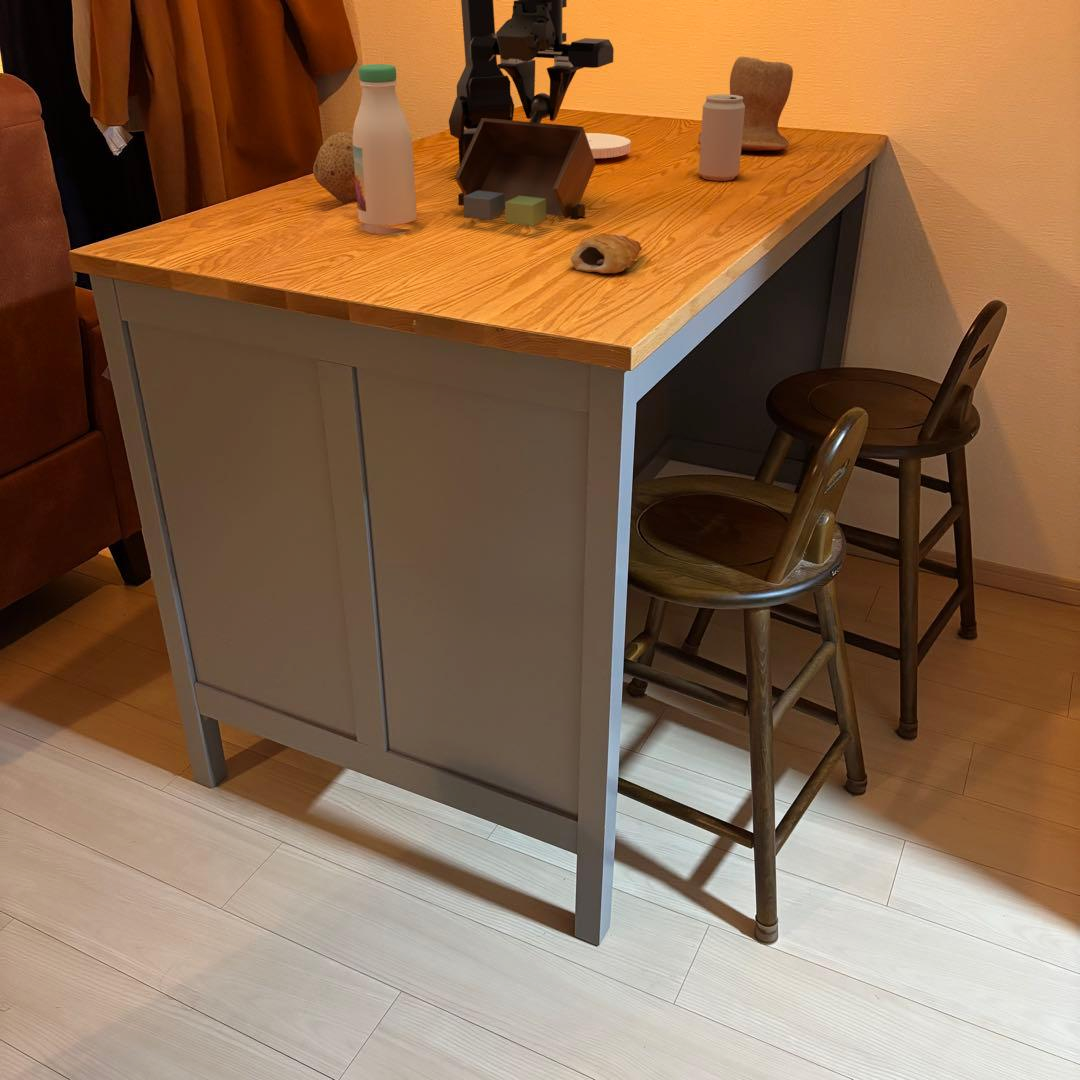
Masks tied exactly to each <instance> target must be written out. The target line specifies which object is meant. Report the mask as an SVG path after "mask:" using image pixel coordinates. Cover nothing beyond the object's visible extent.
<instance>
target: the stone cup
mask: <svg viewBox="0 0 1080 1080" xmlns="http://www.w3.org/2000/svg"><path fill="white" fill-rule="evenodd" d="M793 78H794V69H793V67H792V65H791V64H789V63H787V62H781V61H766V60H761V59H759V58H756V57H750V56H749V57H748V56H738V57H737V58H736V60H735V61H734V63H733V65H732V68H731V71H730V76H729V95H738V96H742V97H743V100H742V101H743V103H744V105H745V112H744V124H743V135H742V147H741V152H743V151H744V152H762V151H763V152H764V151H779V150H783V149H786V148H787V147H788V146H789V140H788V139H787V138H786V137H785V136H783V135H781V134H780V132H779V128H778V127H779V121H780V117H781V115H782V113H783V110H784V108H785V106H786V104H787V102H788V99H789V96H790V93H791V87H792V83H793ZM697 137H698V139H697V143H698V145H700V142H701V131H700V132H699V134H698V136H697Z"/></svg>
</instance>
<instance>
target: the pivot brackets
mask: <svg viewBox="0 0 1080 1080" xmlns="http://www.w3.org/2000/svg"><path fill="white" fill-rule="evenodd" d="M457 196H458V202H457V204H458V206H463V207H464V195H463V193H462V192H460V193H458V194H457ZM570 219H571V220H575V221H577V220H580V219H581V220H582V219H583V220H585V219H587V216H586V204H582V203H580V204H578V205H576V206H574V207H572V208H571V217H570Z"/></svg>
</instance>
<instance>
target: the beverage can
mask: <svg viewBox="0 0 1080 1080" xmlns="http://www.w3.org/2000/svg"><path fill="white" fill-rule="evenodd" d="M742 100H743V97H742V96H738V95H730V94H722V93H721V94H710V95H706V96H705V102H704V103H703V105H702V113H701V114H702V115H701V129H700V130H701V131H700V132H701V142H700V144H699V159H698V174H699V175H700V176H701V177H702V179H704V180H708V181H716V182H717V181H719V182H724V181H732V180H734V179H735V178H736V177H738V175H740V169H741V158H742V157H741V156H742V151H741V147H742V135H743V124H744V112H745V105H744V103H743V101H742Z"/></svg>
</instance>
